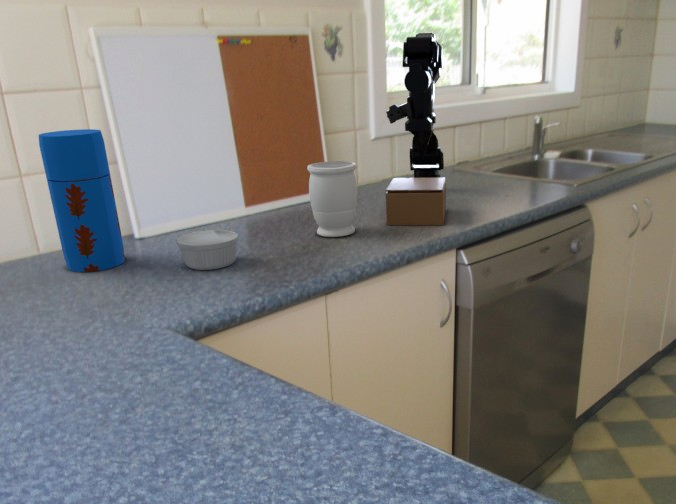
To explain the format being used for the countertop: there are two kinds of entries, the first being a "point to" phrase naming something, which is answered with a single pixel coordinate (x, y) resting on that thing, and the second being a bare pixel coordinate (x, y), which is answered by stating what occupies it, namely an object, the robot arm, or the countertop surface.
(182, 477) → the countertop surface
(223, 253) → the ramekin
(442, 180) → the flap
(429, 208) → the carton
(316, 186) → the jar
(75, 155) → the thermos
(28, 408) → the countertop surface
